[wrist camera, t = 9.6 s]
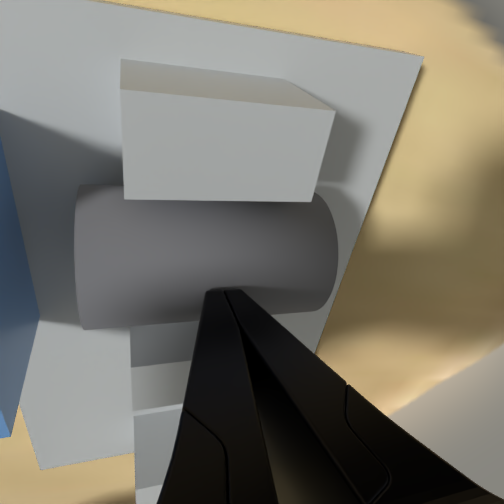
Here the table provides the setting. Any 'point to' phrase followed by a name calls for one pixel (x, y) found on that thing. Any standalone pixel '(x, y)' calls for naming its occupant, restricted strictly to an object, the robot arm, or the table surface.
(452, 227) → the table surface
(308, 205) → the dark gray cylinder
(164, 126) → the white base plate
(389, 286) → the table surface
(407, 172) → the table surface
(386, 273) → the table surface
